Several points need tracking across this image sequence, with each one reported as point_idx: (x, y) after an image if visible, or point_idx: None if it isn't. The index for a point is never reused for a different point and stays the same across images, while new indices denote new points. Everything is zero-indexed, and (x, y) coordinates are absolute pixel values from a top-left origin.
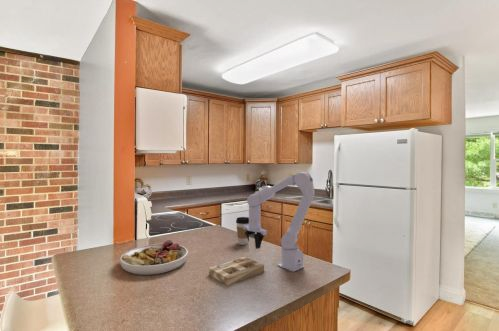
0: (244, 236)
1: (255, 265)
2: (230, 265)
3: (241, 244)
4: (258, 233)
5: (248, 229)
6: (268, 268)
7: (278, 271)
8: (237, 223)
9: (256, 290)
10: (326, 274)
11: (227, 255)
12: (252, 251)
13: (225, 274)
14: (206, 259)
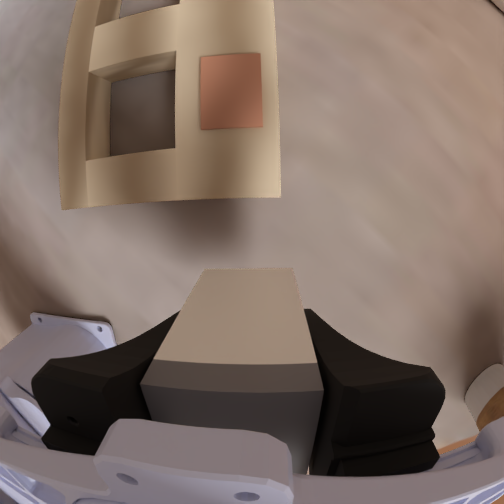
0: (493, 408)
1: (81, 150)
2: (201, 2)
3: (485, 370)
4: (78, 447)
5: (180, 473)
6: (107, 258)
7: (58, 269)
8: None
9: (9, 66)
10: None
11: (462, 201)
12: (233, 272)
13: None
14: (475, 66)
